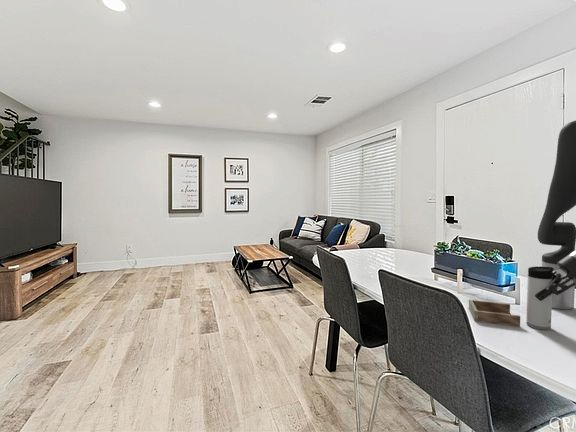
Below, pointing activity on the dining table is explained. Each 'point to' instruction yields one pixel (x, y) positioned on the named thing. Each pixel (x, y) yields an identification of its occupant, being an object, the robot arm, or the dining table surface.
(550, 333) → the dining table surface
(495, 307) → the brown wooden tray
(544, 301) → the travel mug
